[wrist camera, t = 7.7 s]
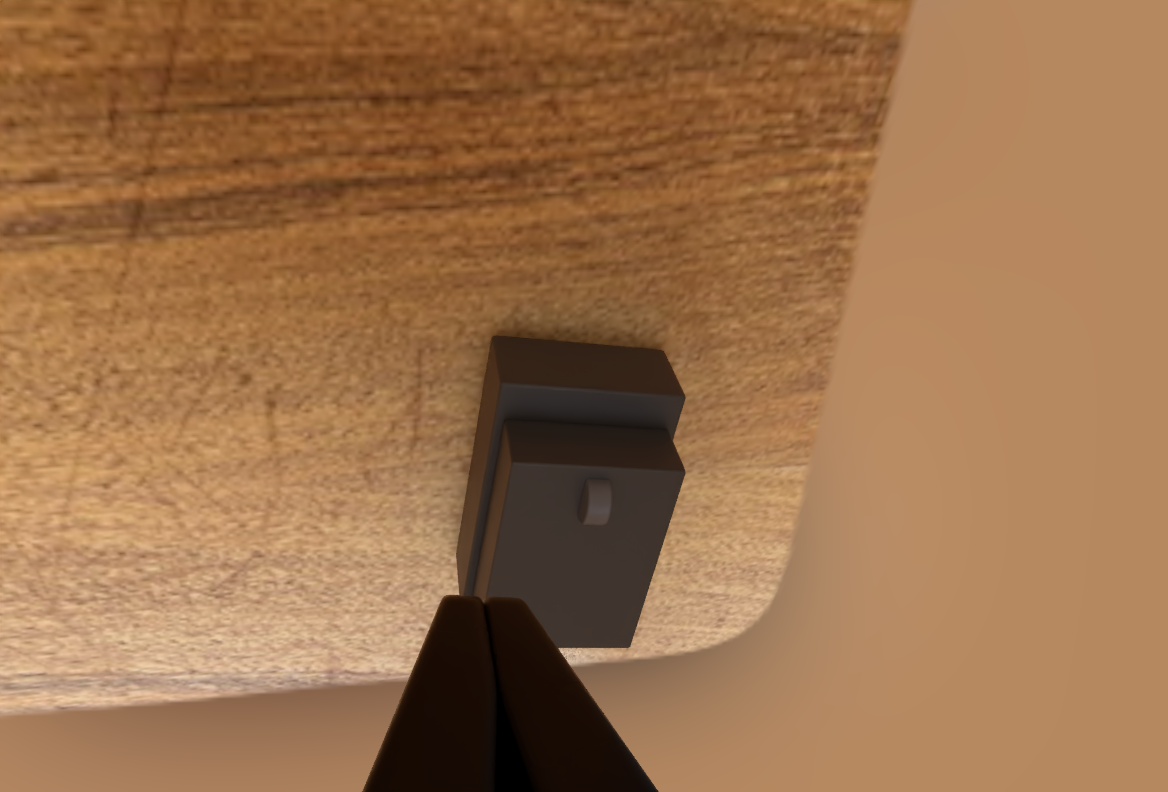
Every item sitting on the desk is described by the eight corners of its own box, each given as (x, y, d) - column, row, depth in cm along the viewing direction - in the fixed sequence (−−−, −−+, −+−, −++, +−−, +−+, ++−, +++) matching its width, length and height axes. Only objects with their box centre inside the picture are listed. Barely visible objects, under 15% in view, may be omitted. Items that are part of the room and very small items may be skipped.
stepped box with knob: (664, 348, 21) (715, 455, 18) (606, 558, 24) (639, 681, 21) (491, 333, 20) (511, 443, 17) (455, 554, 23) (465, 682, 20)
